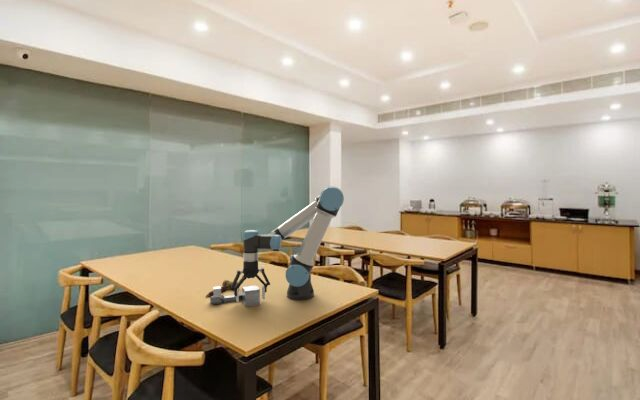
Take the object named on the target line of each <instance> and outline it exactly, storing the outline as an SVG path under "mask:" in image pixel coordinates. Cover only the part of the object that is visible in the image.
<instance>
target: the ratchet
mask: <svg viewBox="0 0 640 400" xmlns="http://www.w3.org/2000/svg"><path fill="white" fill-rule="evenodd" d="M221 287H222V286H220V285H219V286H213V289H212V291H213V296H210V297H209V300H210V305H211V304H212V306H220V305H223V304H225V303H226V304H227V303H233V302H236V296H235V295H234V294H231V295H223V294H222V292H221ZM239 301H241V302H242V292H239Z"/></svg>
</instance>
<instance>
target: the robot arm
mask: <svg viewBox="0 0 640 400" xmlns="http://www.w3.org/2000/svg"><path fill="white" fill-rule="evenodd" d="M344 198H345V197H344V194H343V192H342V190H341V189H340V188H338V187H336V186H332V185H331V186H327V187H325V188H324V189H322V191H321V192H320V194H319V195H318V196H316V197H315V198H314V200H313V201H312V202H311V203H310V204H308V205H307V206H306V207H304V208H302V209H301V210H300V211H298V212H297V213H296V214H294V215H293V216H291V217H290V218H288V219H287V220H286V221H285V222H283V223H282V224H280V225H279V226H277V227H276V228H275V229H273V230H272V231H270V232H269V233H268V234H259V231H258V230H257V229H256V230H255V229H247V230H245V231H244V232H243V239H242V241H243V246H242V247H243V248H242V249H243V253H242V254H243V256H242V257H243V258H242V259H243V262H242V263H243V266H242V267H243V269H242V270H239V269H237V270H236V275H235V277H234V279H233V280H232V282H233V283H232V285H231V289H230V290H233V293H234V294H233V295H235V296H236V301H235V302H236V303H237V304H239V303H240V302H239V293H240V292H239V289H240V287H241V286H242V284H243V283H244V282H245V281H246V279H254V278H257V280H258V281H259V282H260V283H261V284H262V285H261V288H262V289H261V299H262V300H266V296H265V295H266V293H267V290H268V286H271V283H270V281H269V278H268V277H267V275H266V272H265V268H263V267H260V268H259V250H280V249H281V248H282V243H283V242H282V241H284V240H285V239H287V238H288V237H289V236H291V235H292V234H293V233H295V232H296V231H298V230H300V229H301V228H302V227H304V226H305V225H307V224H308V223H310V222H311V223H310V225H309V227H308V230H307V231H306V234H305V237H304V239H303V241H302V242H301V245H300V247H299V249H298V252H297V253H295V254H291V255H290V256H289V265H288V267H287V268H286V270H285V279H286V281H287V283H288V288H287V290H286V297H288V299H291V300H298V301H299V300H301V301H302V300H309V299H312V298H313V297H314V296H315V291H314V288H313V284H312V280H311V279H312V270H313V268H314V266H315V263H314V259H315V257H316V254H317V252H318V250H319V247H320V245H321V243H322V242H323V238H324V237H325V235H326V232H327V230H328V228H329V225H330V223H331V221H332V219H333V218H336V217H337V215H338V212H339V211H340V209H341V207H342V206H343V204H344ZM258 273H261V275H262V276H263V278H264V280H265V282H264V280H263V279H262V278H261V277H260V276H259V275H258ZM242 274H243V275H242ZM240 275H242V276H241V278H240ZM239 278H240V280H239ZM237 282H238V283H237ZM236 283H237V284H236ZM235 285H236V286H235ZM238 288H239V289H238Z"/></svg>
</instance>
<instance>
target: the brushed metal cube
mask: <svg viewBox="0 0 640 400" xmlns="http://www.w3.org/2000/svg"><path fill="white" fill-rule="evenodd" d="M241 290H242V291H241V293H242V301H241V302H242V304H243V306H244V307H245V308H246V307H251V306H253V307H254V306H260V305H261V295H260V294H261V290H260V287H258V285H247V286H242V289H241Z"/></svg>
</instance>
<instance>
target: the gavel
mask: <svg viewBox="0 0 640 400" xmlns="http://www.w3.org/2000/svg"><path fill="white" fill-rule="evenodd" d="M238 282H239V281H237V283H238ZM232 283H233V281H231V280H228V279H224V280H223V282H222V284H221V286H220V287H221V293H222V292H224V291H227V290H228V289H230V290H232V289H231V285H232ZM237 283H236V284H237ZM235 286H236V285H235ZM239 289H240V287H239V288H238V290H239ZM211 296H213V290H212V291H209V292H208V293H207V294H206V295H205V298H210V297H211Z"/></svg>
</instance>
